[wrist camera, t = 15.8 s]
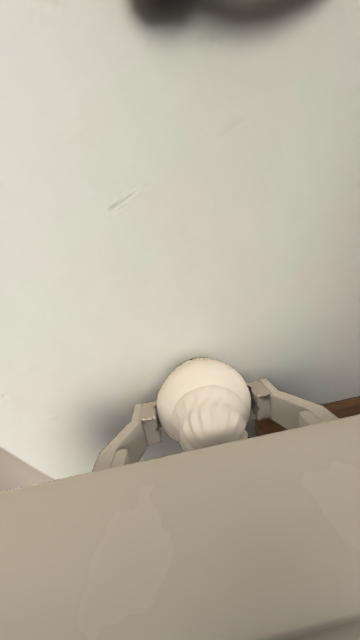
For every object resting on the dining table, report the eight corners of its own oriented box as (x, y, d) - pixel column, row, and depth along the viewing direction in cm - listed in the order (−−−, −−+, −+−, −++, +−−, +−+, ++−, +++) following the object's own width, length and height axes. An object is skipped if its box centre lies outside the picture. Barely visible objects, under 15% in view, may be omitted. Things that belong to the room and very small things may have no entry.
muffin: (236, 345, 14) (300, 402, 7) (224, 408, 15) (270, 507, 9) (162, 339, 14) (157, 395, 7) (156, 405, 15) (147, 509, 8)
